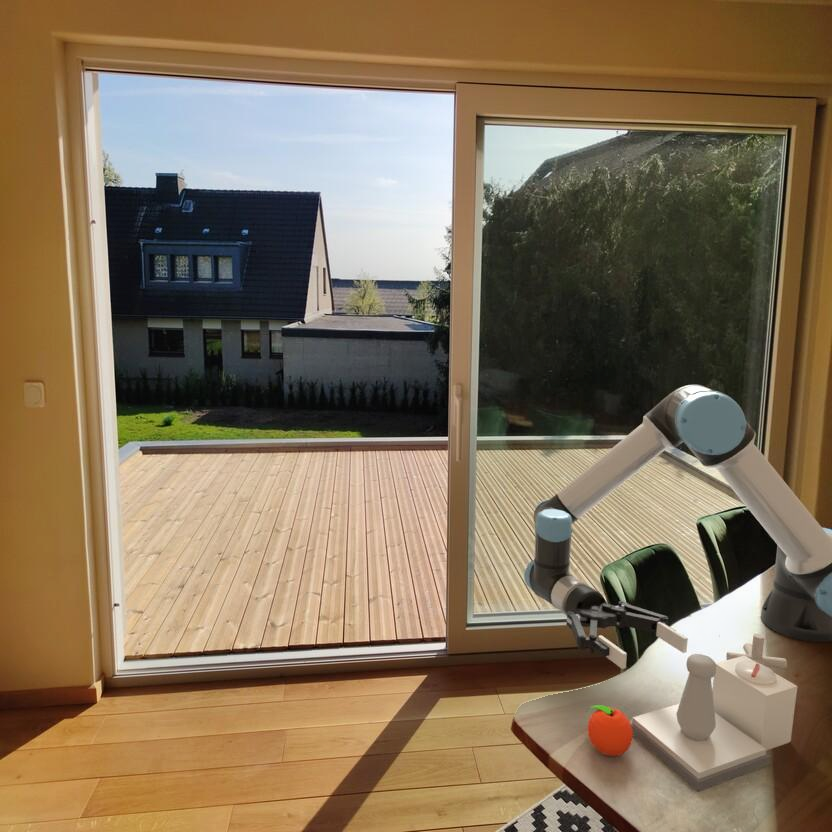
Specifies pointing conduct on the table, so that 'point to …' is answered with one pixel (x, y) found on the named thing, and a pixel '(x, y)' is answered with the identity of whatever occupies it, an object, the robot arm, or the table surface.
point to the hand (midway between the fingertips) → (655, 653)
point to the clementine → (609, 731)
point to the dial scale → (726, 725)
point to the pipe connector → (759, 654)
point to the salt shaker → (698, 699)
